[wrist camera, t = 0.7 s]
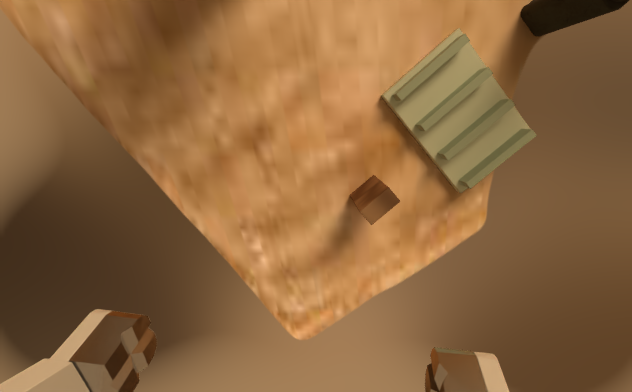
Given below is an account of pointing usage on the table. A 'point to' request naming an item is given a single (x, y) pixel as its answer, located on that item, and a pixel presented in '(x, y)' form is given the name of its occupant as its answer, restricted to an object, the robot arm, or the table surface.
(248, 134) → the table surface
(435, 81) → the rack
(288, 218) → the table surface
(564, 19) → the candle
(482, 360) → the robot arm
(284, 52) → the table surface
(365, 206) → the block
